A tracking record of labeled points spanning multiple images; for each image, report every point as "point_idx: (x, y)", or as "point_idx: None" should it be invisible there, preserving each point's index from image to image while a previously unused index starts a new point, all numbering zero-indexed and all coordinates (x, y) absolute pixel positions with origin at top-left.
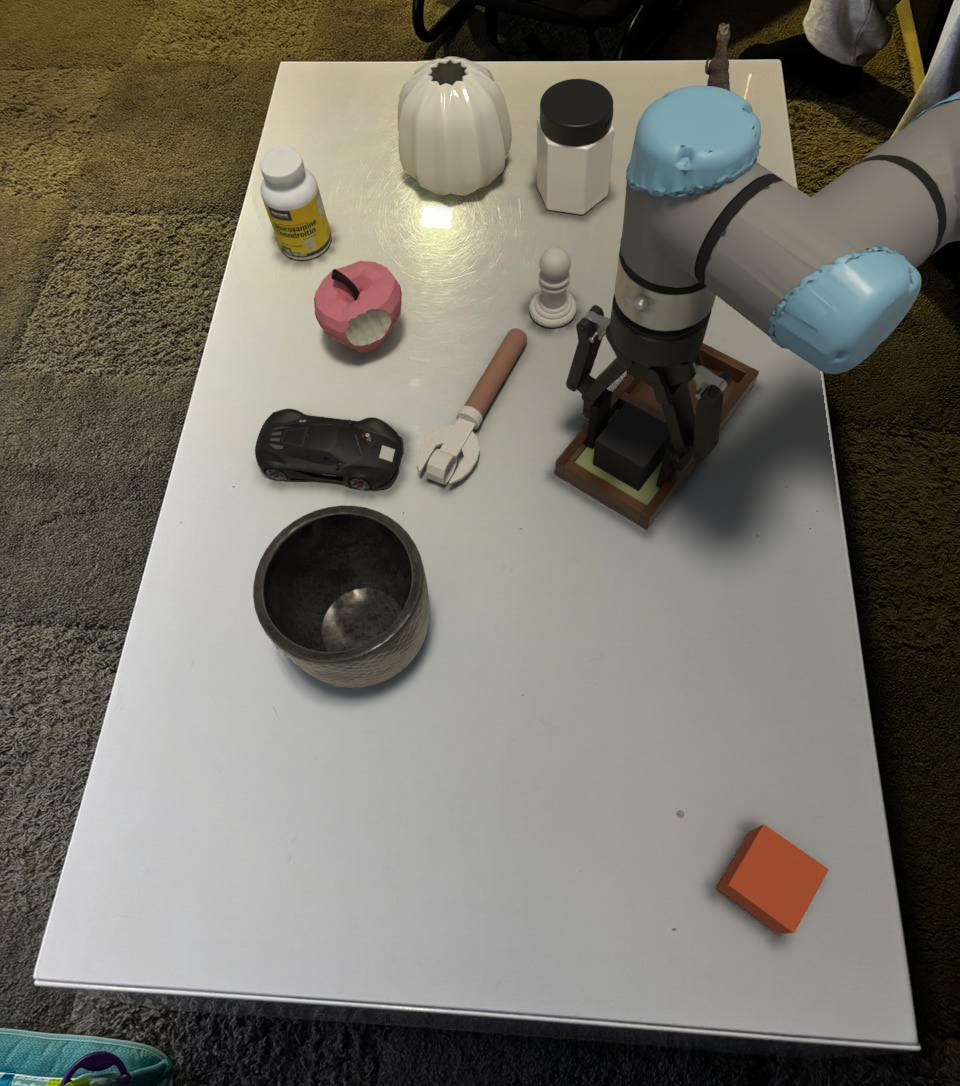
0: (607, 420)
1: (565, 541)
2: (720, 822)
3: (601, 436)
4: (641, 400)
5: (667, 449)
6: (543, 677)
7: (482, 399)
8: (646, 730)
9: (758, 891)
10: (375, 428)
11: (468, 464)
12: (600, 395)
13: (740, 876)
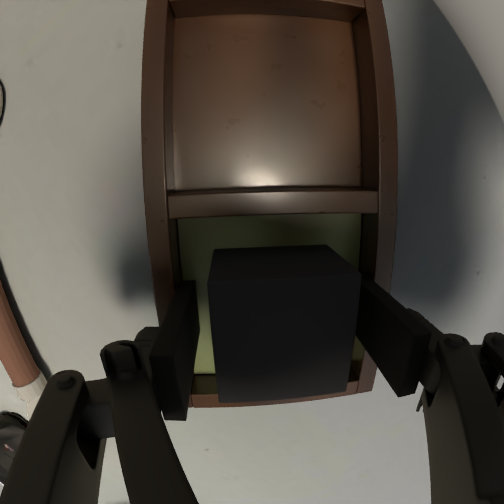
0: (190, 301)
1: (266, 435)
2: None
3: (224, 392)
4: (205, 160)
5: (401, 392)
6: (328, 501)
7: (13, 364)
8: (419, 470)
9: None
10: (2, 439)
11: None
12: (156, 385)
13: None
